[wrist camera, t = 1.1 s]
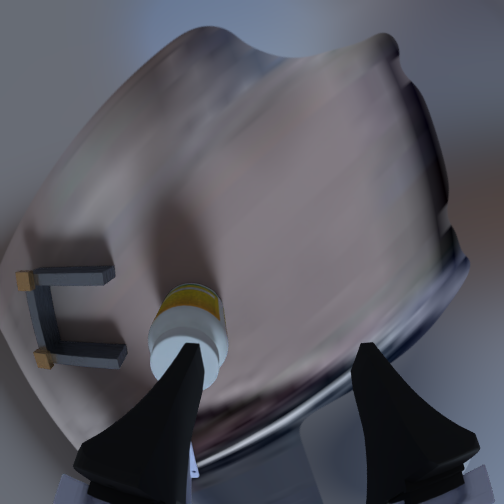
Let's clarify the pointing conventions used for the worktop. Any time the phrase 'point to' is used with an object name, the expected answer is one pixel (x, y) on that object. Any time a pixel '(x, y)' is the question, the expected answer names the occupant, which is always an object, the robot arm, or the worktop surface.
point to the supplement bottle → (189, 329)
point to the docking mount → (45, 320)
